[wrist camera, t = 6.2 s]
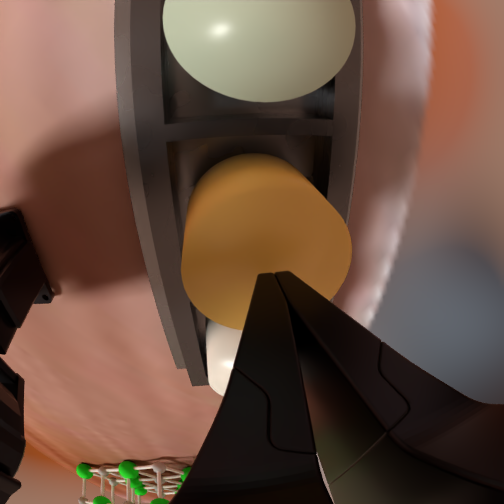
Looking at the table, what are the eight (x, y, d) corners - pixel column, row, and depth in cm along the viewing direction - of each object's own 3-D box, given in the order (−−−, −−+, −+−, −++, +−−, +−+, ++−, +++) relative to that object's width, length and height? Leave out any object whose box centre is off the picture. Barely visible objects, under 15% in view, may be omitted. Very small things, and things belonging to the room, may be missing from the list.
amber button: (194, 274, 12) (194, 337, 9) (180, 158, 10) (168, 195, 7) (308, 262, 13) (337, 320, 10) (318, 151, 10) (364, 185, 7)
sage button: (178, 101, 9) (165, 108, 6) (176, -17, 7) (165, -55, 4) (311, 98, 10) (353, 107, 7) (310, -14, 7) (351, -43, 4)
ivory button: (210, 354, 17) (214, 404, 14) (199, 293, 14) (201, 350, 11) (290, 345, 18) (305, 392, 15) (298, 283, 15) (320, 335, 12)
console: (177, 351, 19) (176, 390, 17) (126, -28, 7) (105, -54, 4) (314, 336, 21) (328, 371, 18) (345, -26, 8) (380, -45, 5)
